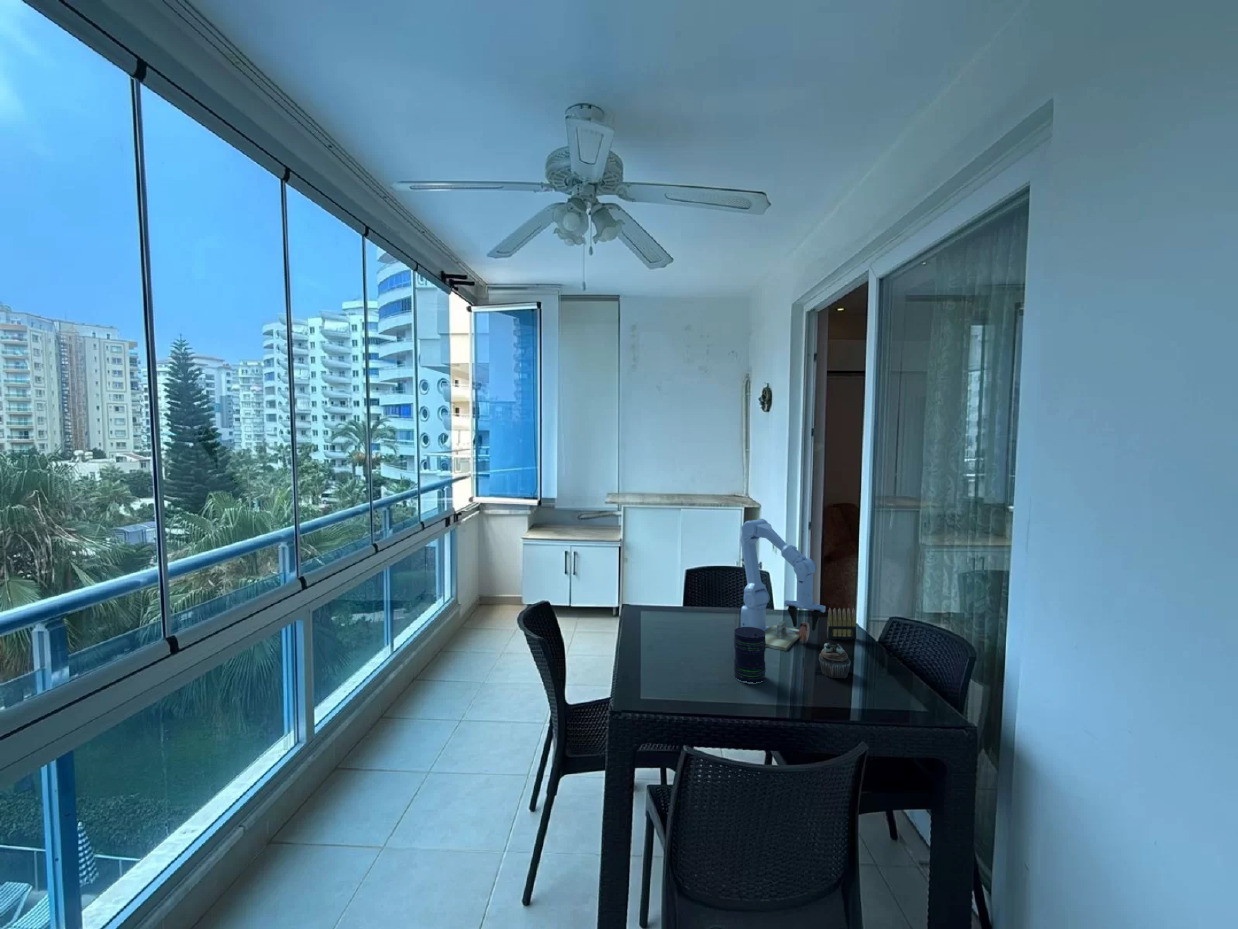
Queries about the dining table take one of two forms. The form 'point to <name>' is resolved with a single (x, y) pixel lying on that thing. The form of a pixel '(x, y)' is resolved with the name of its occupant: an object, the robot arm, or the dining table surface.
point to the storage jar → (749, 654)
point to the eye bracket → (780, 637)
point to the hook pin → (800, 631)
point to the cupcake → (834, 661)
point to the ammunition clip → (841, 625)
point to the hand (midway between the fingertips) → (804, 628)
